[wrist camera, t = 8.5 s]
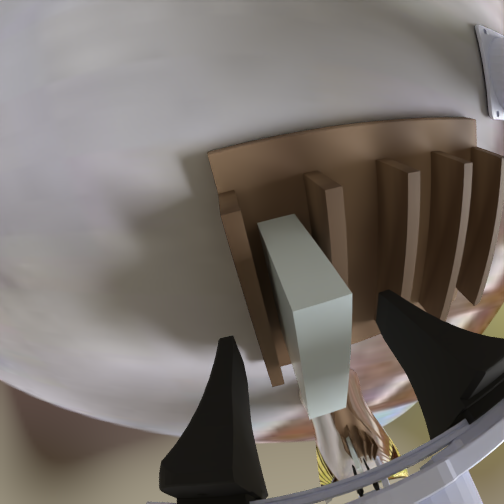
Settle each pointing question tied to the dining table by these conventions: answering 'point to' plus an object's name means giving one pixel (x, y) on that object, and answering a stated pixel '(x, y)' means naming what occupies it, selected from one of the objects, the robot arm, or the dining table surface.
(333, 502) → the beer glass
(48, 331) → the dining table surface
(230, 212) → the rack
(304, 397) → the tile
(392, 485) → the robot arm
